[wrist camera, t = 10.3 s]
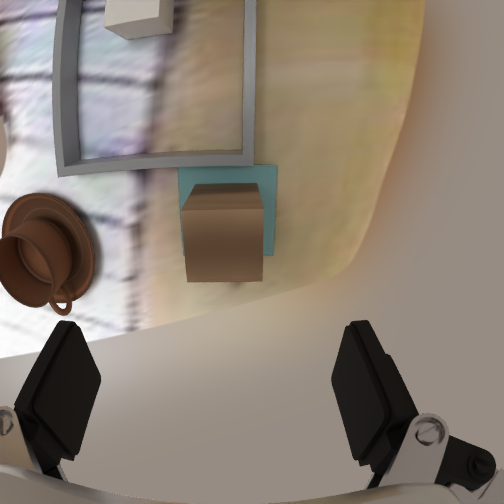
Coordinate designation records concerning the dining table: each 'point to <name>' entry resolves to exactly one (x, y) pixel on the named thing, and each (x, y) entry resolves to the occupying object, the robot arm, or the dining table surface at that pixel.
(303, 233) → the dining table surface
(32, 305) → the cup and saucer
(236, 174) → the pad
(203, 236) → the walnut block
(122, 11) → the pale grey block
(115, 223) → the dining table surface
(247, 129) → the grey square frame
